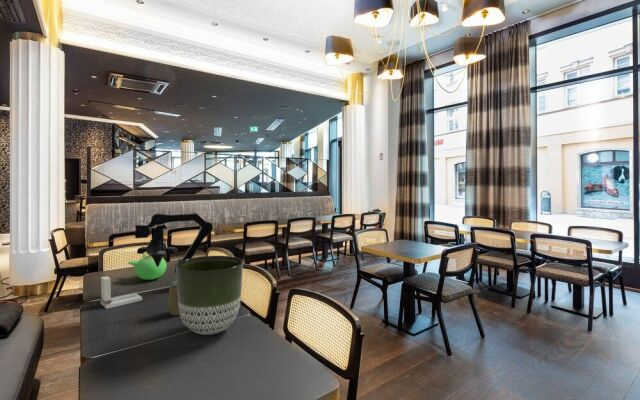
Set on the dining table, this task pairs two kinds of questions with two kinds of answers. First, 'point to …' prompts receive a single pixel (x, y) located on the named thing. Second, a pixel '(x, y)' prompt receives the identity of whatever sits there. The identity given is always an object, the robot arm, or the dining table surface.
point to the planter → (209, 292)
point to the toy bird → (148, 268)
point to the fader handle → (106, 290)
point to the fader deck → (122, 300)
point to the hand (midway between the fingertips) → (157, 266)
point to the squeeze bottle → (173, 299)
